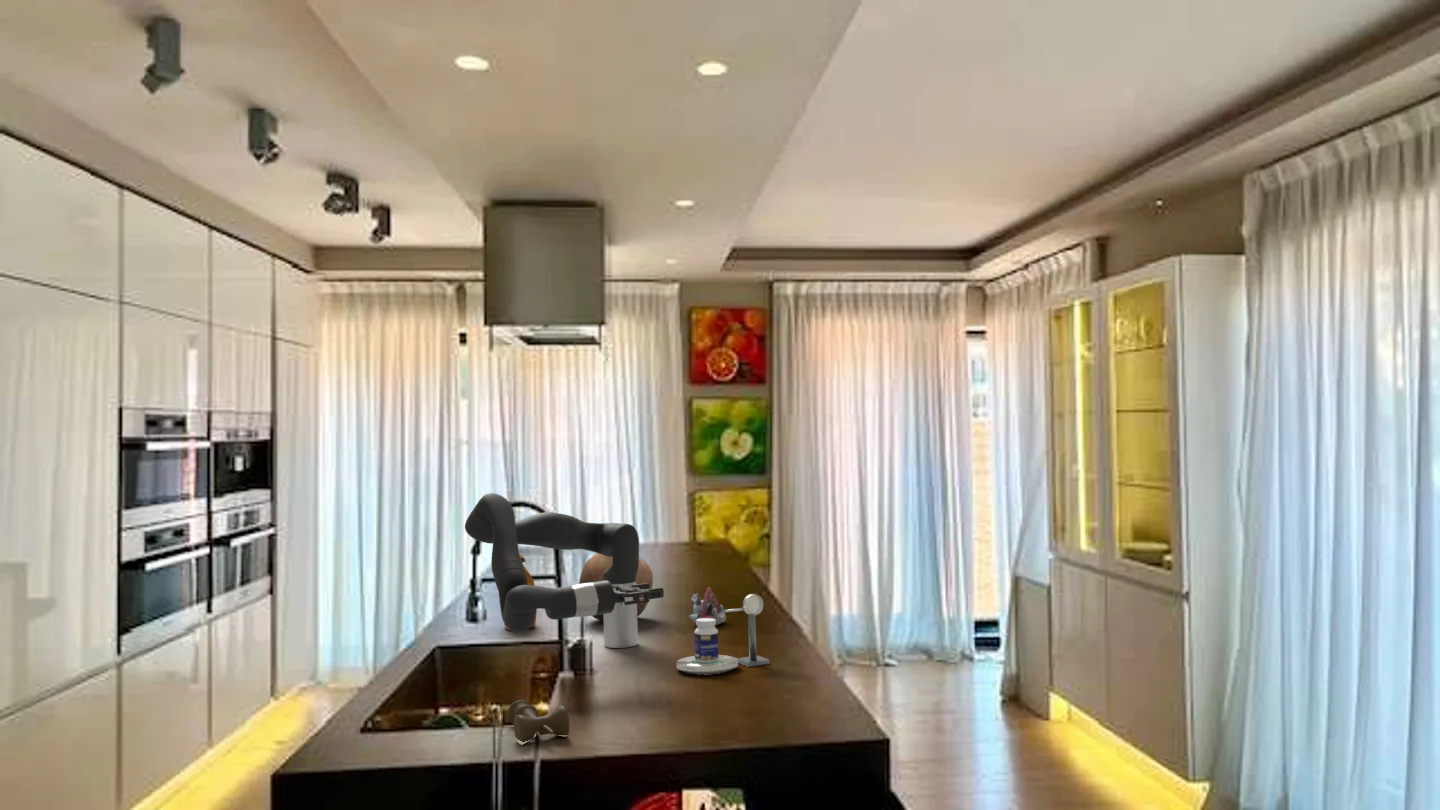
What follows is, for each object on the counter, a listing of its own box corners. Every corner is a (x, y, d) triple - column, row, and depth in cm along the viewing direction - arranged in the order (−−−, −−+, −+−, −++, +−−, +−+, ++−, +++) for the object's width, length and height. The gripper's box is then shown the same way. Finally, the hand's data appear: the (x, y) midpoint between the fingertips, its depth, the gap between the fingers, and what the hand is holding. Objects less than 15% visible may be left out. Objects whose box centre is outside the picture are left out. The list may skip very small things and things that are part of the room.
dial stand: (721, 664, 245) (719, 595, 246) (757, 659, 250) (755, 591, 250) (732, 669, 240) (730, 598, 240) (769, 663, 244) (767, 594, 245)
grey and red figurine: (722, 620, 292) (699, 586, 296) (696, 641, 296) (673, 608, 299) (737, 613, 303) (715, 581, 306) (712, 634, 306) (690, 602, 309)
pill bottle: (701, 664, 236) (700, 622, 237) (691, 660, 241) (689, 619, 242) (722, 661, 239) (721, 619, 239) (712, 657, 244) (710, 616, 244)
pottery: (590, 615, 322) (588, 537, 323) (660, 614, 319) (658, 536, 320) (570, 628, 300) (568, 545, 300) (645, 628, 296) (643, 544, 297)
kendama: (543, 722, 201) (578, 744, 184) (496, 731, 196) (528, 755, 179) (541, 692, 201) (576, 711, 184) (494, 700, 197) (526, 721, 179)
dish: (666, 667, 243) (666, 659, 243) (721, 660, 250) (721, 651, 250) (692, 680, 230) (692, 671, 230) (749, 671, 237) (749, 662, 237)
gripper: (581, 610, 235) (645, 601, 242) (602, 620, 222) (668, 610, 229) (580, 578, 235) (643, 570, 242) (600, 586, 222) (667, 577, 229)
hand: (655, 589), depth 236 cm, fingers open, 8 cm apart
